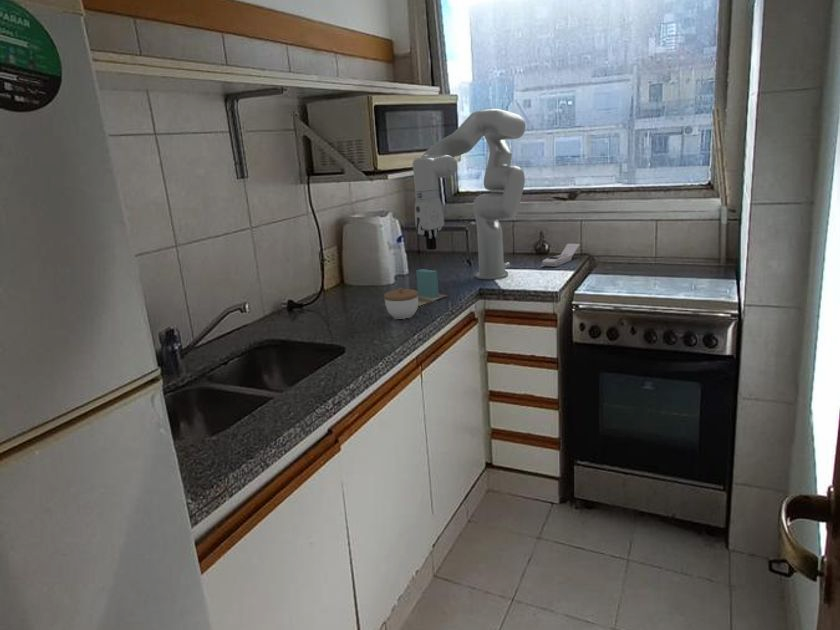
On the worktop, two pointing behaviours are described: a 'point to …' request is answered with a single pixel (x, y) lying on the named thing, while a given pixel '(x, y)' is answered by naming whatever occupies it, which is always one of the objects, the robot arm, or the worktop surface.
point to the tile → (427, 283)
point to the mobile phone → (561, 256)
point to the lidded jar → (401, 303)
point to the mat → (427, 299)
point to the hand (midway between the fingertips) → (431, 249)
